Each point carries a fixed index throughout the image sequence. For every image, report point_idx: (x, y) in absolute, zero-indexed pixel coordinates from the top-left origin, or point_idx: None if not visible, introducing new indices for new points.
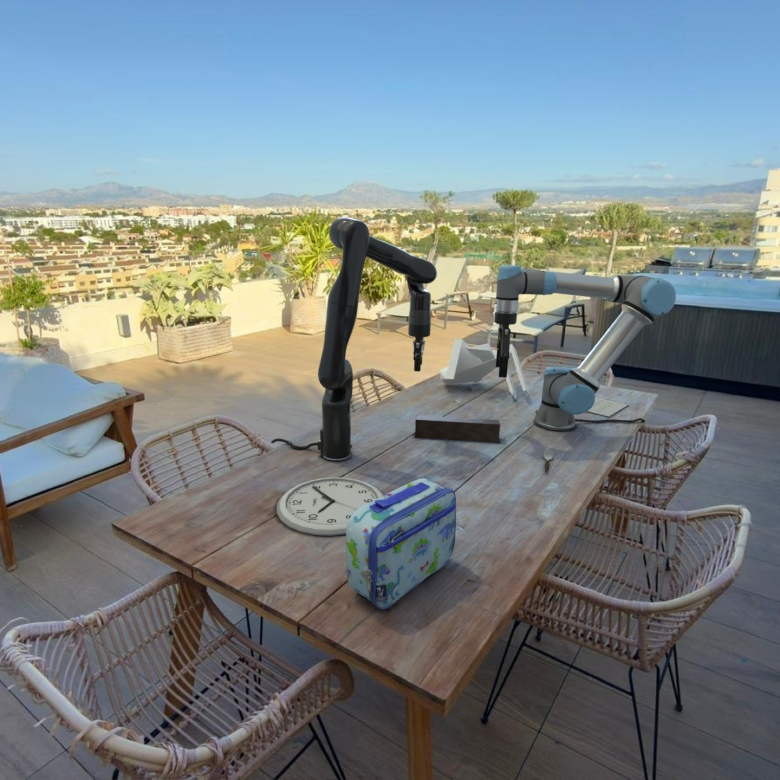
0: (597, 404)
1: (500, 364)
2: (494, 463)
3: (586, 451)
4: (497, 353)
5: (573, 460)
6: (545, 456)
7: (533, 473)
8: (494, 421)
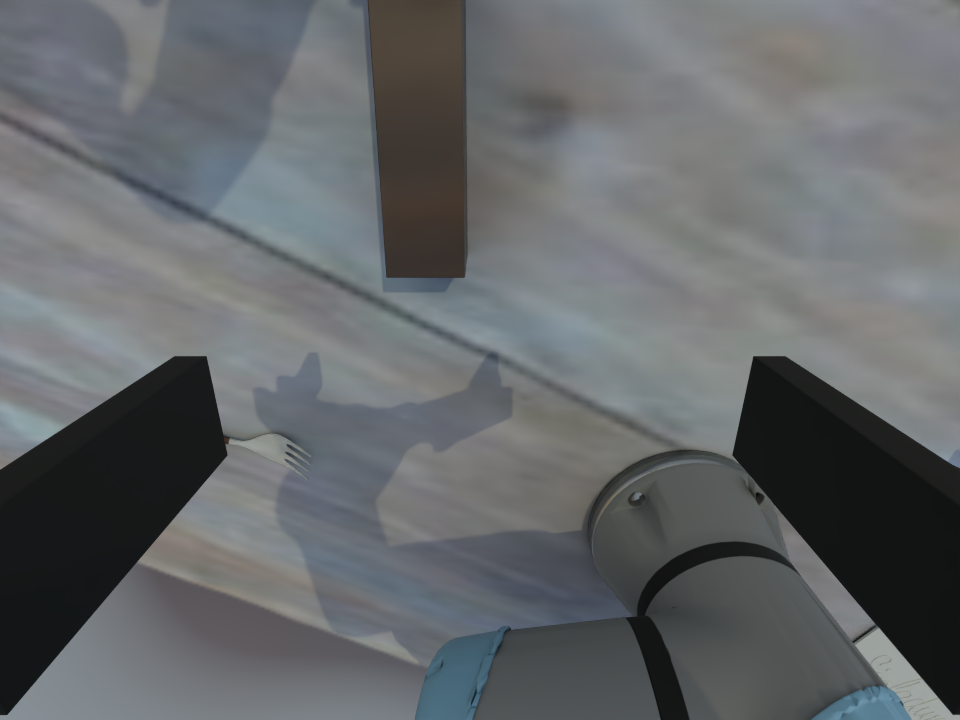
0: (906, 707)
1: (12, 476)
2: (144, 215)
3: (390, 580)
4: (930, 500)
5: (290, 527)
6: (278, 440)
7: (109, 372)
8: (431, 245)
